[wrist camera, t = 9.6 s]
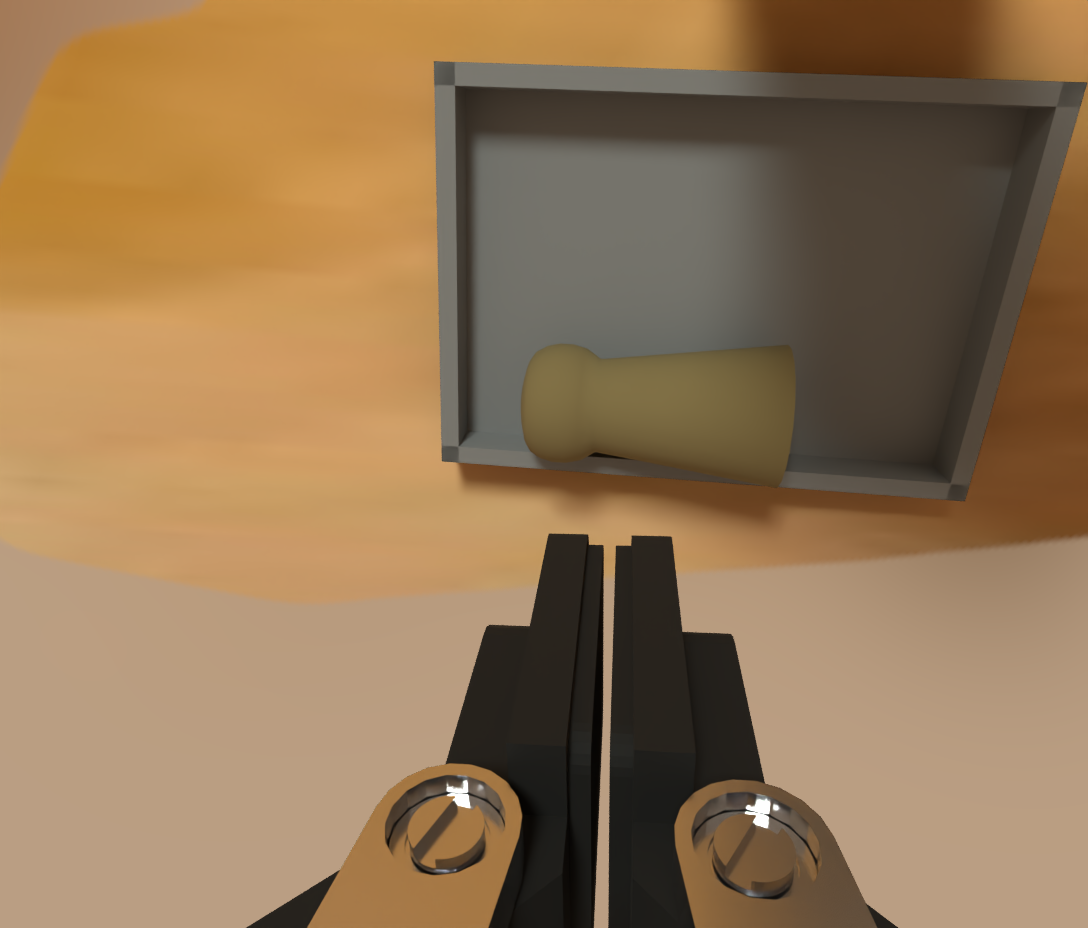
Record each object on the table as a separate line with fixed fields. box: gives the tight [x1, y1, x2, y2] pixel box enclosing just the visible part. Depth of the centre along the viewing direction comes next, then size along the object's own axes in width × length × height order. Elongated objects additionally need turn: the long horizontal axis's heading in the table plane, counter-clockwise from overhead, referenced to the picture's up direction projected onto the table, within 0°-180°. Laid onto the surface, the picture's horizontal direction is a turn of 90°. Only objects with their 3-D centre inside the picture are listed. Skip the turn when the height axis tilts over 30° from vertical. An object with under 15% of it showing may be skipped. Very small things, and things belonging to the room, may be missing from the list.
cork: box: [521, 343, 796, 488], centre depth 32 cm, size 6×6×11 cm
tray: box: [434, 61, 1087, 501], centre depth 32 cm, size 24×17×2 cm
